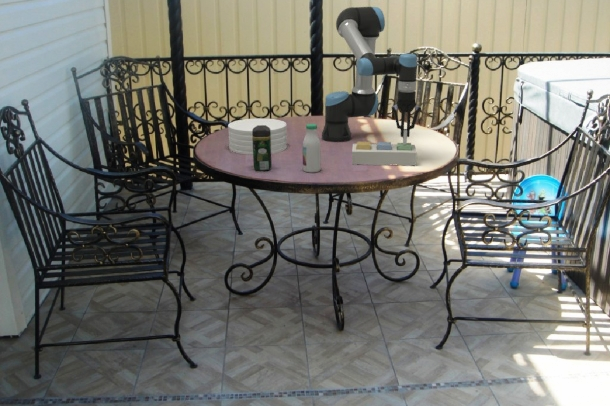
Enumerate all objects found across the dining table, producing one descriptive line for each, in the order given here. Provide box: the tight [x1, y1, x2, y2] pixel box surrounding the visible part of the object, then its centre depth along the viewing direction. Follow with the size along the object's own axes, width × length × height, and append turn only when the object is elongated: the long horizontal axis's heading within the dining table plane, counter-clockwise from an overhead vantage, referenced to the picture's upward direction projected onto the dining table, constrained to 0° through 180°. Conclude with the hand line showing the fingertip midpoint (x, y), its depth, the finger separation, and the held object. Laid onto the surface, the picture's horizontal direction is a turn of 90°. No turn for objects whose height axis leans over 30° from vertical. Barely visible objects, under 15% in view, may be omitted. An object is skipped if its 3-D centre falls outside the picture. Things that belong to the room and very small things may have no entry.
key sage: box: [396, 142, 413, 150], centre depth 295 cm, size 6×6×4 cm
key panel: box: [351, 143, 418, 166], centre depth 296 cm, size 28×14×6 cm, turn 85°
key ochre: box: [356, 141, 372, 150], centre depth 296 cm, size 6×6×4 cm
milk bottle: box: [302, 123, 322, 173], centre depth 281 cm, size 8×8×20 cm
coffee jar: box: [252, 125, 273, 172], centre depth 284 cm, size 10×8×19 cm
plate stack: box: [227, 117, 288, 156], centre depth 320 cm, size 28×28×12 cm
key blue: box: [376, 141, 392, 150], centre depth 295 cm, size 6×6×4 cm
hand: (404, 144), depth 294 cm, fingers closed
